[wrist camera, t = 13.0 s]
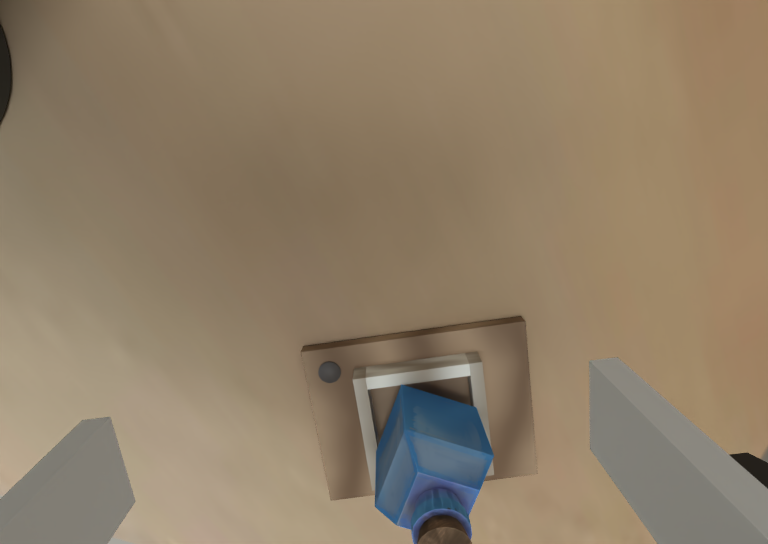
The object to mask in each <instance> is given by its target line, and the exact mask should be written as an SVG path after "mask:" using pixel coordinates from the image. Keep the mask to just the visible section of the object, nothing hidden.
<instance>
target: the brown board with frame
mask: <svg viewBox="0 0 768 544" xmlns="http://www.w3.org/2000/svg"><path fill="white" fill-rule="evenodd" d="M301 356H302V360H303V365H304V370H305V375H306V380H307V385H308V390H309V395H310V400H311V405H312V410H313V415H314V420H315V425H316V430H317V435H318V440H319V445H320V450H321V455H322V459H323V464H324V469H325V474H326V479H327V484H328V489H329V494H330V499H331V500H339V499H347V498H355V497H363V496H370V495H375V478H376V450H377V448H378V445H379V443H380V440H381V437H382V435H383V432H384V429H385V427H386V424H387V421H388V419H389V416H390V413H391V411H392V408H393V405H394V403H395V400H396V397H397V395H398V392H399V389H400V387H401V384H402V385H405V386H408V387H412V388H415V389H418V390H421V391H425V392H428V393H431V394H434V395H438V396H441V397H444V398H447V399H451V400H454V401H457V402H460V403H464V404H467V405H470V406H473V407H476V408H477V410H478V413H479V416H480V418H481V421H482V424H483V427H484V429H485V432H486V435H487V437H488V440H489V443H490V446H491V448H492V451H493V454H494V457H493V460H492V462H491V465H490V467H489V470H488V472H487V474H486V477H485V479H484V481H487V480H495V479H503V478H511V477H518V476H526V475H534V474H538V473H537V460H536V448H535V436H534V423H533V411H532V399H531V386H530V374H529V362H528V349H527V337H526V325H525V320H524V319H523V318H522V317H521V316H519V317H512V318H505V319H498V320H490V321H483V322H476V323H469V324H462V325H454V326H447V327H440V328H433V329H426V330H418V331H411V332H404V333H397V334H390V335H382V336H375V337H368V338H361V339H354V340H346V341H339V342H332V343H325V344H318V345H311V346H303V348H302V351H301Z"/></svg>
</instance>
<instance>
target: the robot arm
mask: <svg viewBox="0 0 768 544" xmlns="http://www.w3.org/2000/svg"><path fill="white" fill-rule="evenodd" d="M10 83H11V69H10V59H9V53H8V48H7V44H6V41H5V37H4V34H3V31H2V29H1V26H0V121H1V119H2V117H3V114H4V112H5V109H6V106H7V102H8V98H9V92H10ZM589 371H590V449H591V451H592V452H593V454H594V455H595V456H596V458H597V459H598V461H599V462H600V463H601V465H602V466H603V468H604V469H605V470H606V472H607V473H608V475H609V476H610V477H611V479H612V480H613V482H614V483H615V484H616V486H617V487H618V489H619V490H620V492H621V493H622V494H623V496H624V497H625V499H626V500H627V501H628V503H629V504H630V506H631V507H632V508H633V510H634V511H635V513H636V514H637V515H638V517H639V518H640V520H641V521H642V522H643V524H644V525H645V527H646V528H647V529H648V531H649V532H650V534H651V535H652V536H653V538H654V539H655V541H656V542H657V543H658V544H768V463H767V462H765V461H763V460H761V459H759V458H757V457H755V456H753V455H751V454H749V453H740V454H731V455H729V454H727V453H726V452H725V451H724V450H723V449H722V448H721V447H719V446H718V445H717V444H716V443H715V442H714V441H713V440H711V439H710V438H709V437H708V436H707V435H706V434H705V433H703V432H702V431H701V430H700V429H699V428H698V427H697V426H695V425H694V424H693V423H692V422H691V421H690V420H689V419H687V418H686V417H685V416H684V415H683V414H682V413H681V412H679V411H678V410H677V409H676V408H675V407H674V406H673V405H671V404H670V403H669V402H668V401H667V400H666V399H665V398H663V397H662V396H661V395H660V394H659V393H658V392H657V391H655V390H654V389H653V388H652V387H651V386H650V385H649V384H647V383H646V382H645V381H644V380H643V379H642V378H641V377H639V376H638V375H637V374H636V373H635V372H634V371H633V370H631V369H630V368H629V367H628V366H627V365H626V364H625V363H623V362H622V361H621V360H620V359H619V358H618V357H617V358H608V359H600V360H591V361H589ZM134 503H135V498H134V495H133V491H132V488H131V485H130V481H129V478H128V475H127V471H126V468H125V465H124V461H123V458H122V454H121V451H120V448H119V444H118V441H117V438H116V434H115V431H114V428H113V424H112V421H111V418H110V417H105V418H96V419H87V420H82V421H81V422H80V423H79V424H78V425H77V426H76V427H75V428H74V429H73V430H72V431H71V432H70V433H69V434H67V435H66V436H65V437H64V438H63V439H62V440H61V441H60V442H59V443H58V444H57V445H56V446H55V447H54V448H53V449H52V450H51V451H50V452H49V453H48V454H47V455H46V456H45V457H43V458H42V459H41V460H40V461H39V462H38V463H37V464H36V465H35V466H34V467H33V468H32V469H31V470H30V471H29V472H28V473H27V474H26V475H25V476H24V477H23V478H22V479H21V480H20V481H18V482H17V483H16V484H15V485H14V486H13V487H12V488H11V489H10V490H9V491H8V492H7V493H6V494H5V495H4V496H3V497H2V498H1V499H0V544H107V543H108V542H109V541H110V539H111V538H112V536H113V535H114V533H115V532H116V530H117V529H118V527H119V525H120V524H121V522H122V521H123V519H124V518H125V516H126V515H127V513H128V512H129V510H130V509H131V507H132V506H133V504H134Z"/></svg>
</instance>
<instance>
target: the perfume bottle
mask: <svg viewBox="0 0 768 544" xmlns="http://www.w3.org/2000/svg"><path fill="white" fill-rule="evenodd" d="M493 457H494V454H493V451H492V448H491V446H490V443H489V440H488V437H487V435H486V432H485V429H484V427H483V424H482V421H481V418H480V416H479V413H478V410H477V408H476V407H473V406H470V405H467V404H464V403H460V402H457V401H454V400H451V399H447V398H444V397H441V396H438V395H434V394H431V393H428V392H425V391H421V390H418V389H415V388H412V387H408V386H405V385H402V384H401V387H400V389H399V392H398V395H397V397H396V400H395V403H394V405H393V408H392V411H391V413H390V416H389V419H388V421H387V424H386V427H385V429H384V432H383V435H382V437H381V440H380V443H379V445H378V448H377V450H376V478H375V507H376V508H377V509H378V510H379V511H380V512H382V513H383V514H384V515H385V516H386V517H387V518H389V519H390V520H391V521H392V522H393V523H394V524H396V525H397V526H400V527H404V528H407V529H411V530H412V539H413V543H414V544H472V542H471V537H472V531H471V524H470V520H469V514H470V512H471V509H472V507H473V505H474V503H475V500H476V498H477V496H478V494H479V491H480V489H481V486H482V484H483V482H484V479H485V477H486V474H487V472H488V470H489V467H490V465H491V462H492V460H493Z"/></svg>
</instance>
